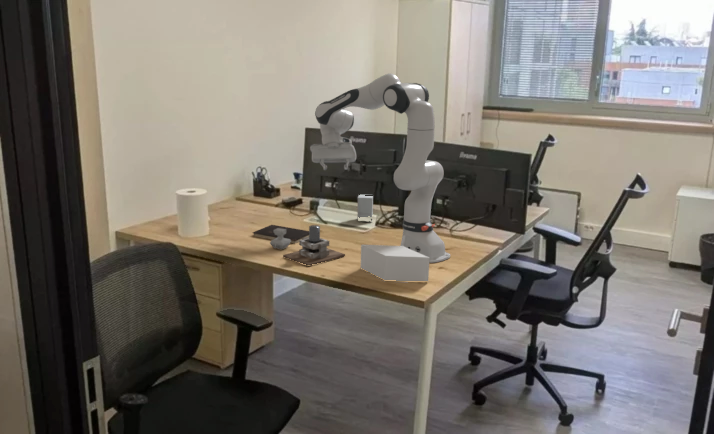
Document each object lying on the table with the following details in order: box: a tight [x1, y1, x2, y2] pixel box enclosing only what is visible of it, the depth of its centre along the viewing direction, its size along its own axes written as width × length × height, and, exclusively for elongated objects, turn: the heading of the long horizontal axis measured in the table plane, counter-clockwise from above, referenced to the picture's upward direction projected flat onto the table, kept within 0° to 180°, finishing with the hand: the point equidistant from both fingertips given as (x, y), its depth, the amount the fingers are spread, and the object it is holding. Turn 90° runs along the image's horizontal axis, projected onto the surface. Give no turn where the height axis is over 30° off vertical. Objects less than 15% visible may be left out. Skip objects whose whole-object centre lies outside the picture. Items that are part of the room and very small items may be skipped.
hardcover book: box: [252, 224, 309, 244], centre depth 302 cm, size 16×23×2 cm
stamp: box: [269, 228, 292, 250], centre depth 283 cm, size 9×7×8 cm
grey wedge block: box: [360, 244, 430, 282], centre depth 252 cm, size 14×29×10 cm, turn 60°
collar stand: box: [282, 237, 346, 265], centre depth 273 cm, size 16×20×7 cm
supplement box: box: [357, 194, 374, 218], centre depth 329 cm, size 7×7×13 cm
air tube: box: [308, 224, 321, 253], centre depth 272 cm, size 5×5×12 cm
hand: (335, 169), depth 295 cm, fingers open, 8 cm apart
